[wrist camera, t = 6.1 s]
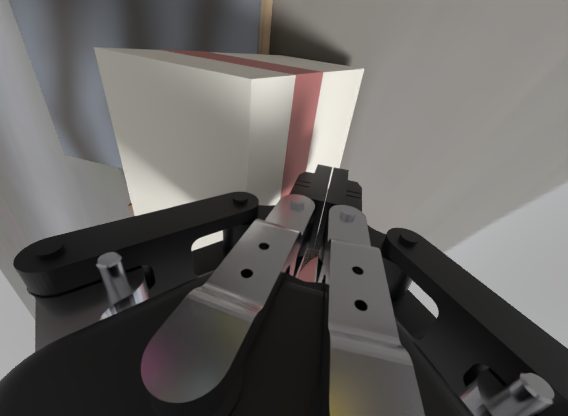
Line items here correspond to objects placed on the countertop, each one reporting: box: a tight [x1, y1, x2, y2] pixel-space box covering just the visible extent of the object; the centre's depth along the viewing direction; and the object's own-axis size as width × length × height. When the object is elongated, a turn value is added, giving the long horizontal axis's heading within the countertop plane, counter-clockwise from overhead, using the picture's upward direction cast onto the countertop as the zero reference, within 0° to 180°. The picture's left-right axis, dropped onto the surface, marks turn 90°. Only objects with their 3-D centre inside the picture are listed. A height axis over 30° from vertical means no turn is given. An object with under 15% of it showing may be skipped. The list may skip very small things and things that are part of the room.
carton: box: [94, 47, 364, 251], centre depth 17 cm, size 7×9×15 cm
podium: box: [9, 0, 273, 169], centre depth 24 cm, size 22×16×3 cm
